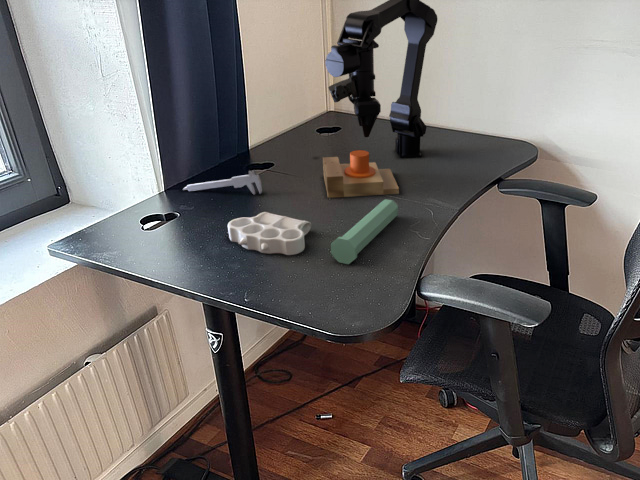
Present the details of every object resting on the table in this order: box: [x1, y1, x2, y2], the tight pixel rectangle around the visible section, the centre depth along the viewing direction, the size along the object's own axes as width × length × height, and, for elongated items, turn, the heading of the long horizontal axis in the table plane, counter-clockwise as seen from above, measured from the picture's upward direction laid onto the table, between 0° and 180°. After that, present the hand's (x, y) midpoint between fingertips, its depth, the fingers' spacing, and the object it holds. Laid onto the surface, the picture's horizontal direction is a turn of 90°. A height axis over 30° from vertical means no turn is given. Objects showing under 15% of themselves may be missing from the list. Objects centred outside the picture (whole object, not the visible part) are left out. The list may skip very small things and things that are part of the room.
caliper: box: [182, 169, 263, 196], centre depth 153 cm, size 20×1×6 cm, turn 85°
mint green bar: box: [330, 198, 399, 265], centre depth 133 cm, size 6×6×25 cm
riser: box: [322, 156, 400, 199], centre depth 158 cm, size 18×14×6 cm
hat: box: [344, 149, 375, 178], centre depth 156 cm, size 8×8×5 cm
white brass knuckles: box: [227, 211, 312, 256], centre depth 132 cm, size 3×18×15 cm
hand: (363, 131), depth 160 cm, fingers open, 9 cm apart
